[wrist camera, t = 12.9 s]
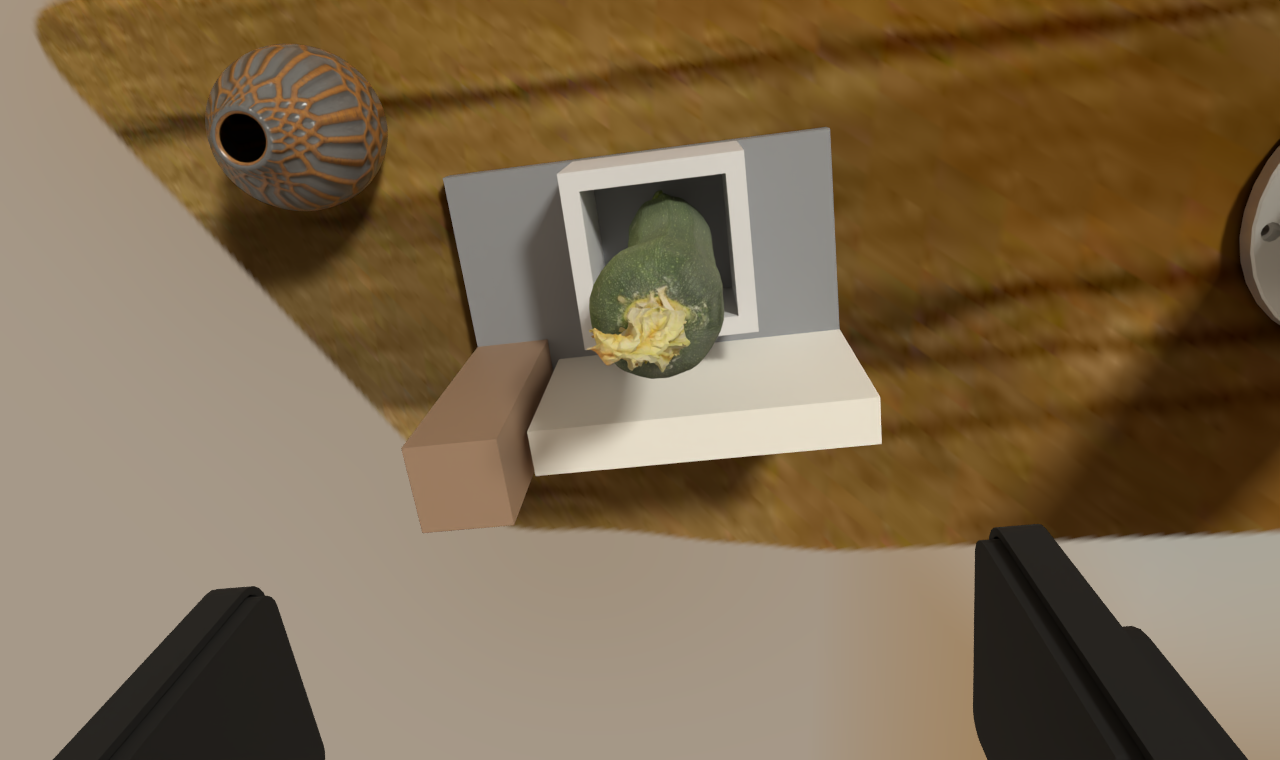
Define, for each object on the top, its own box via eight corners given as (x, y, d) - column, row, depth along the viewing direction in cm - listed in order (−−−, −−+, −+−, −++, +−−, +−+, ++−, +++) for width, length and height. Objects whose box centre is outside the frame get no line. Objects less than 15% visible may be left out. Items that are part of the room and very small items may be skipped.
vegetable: (730, 233, 39) (776, 386, 20) (665, 295, 40) (651, 493, 22) (664, 165, 38) (649, 259, 19) (600, 230, 39) (526, 380, 21)
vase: (238, 71, 39) (116, 71, 30) (372, 27, 38) (285, 14, 29) (298, 214, 41) (200, 250, 33) (427, 176, 40) (360, 203, 32)
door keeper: (826, 127, 38) (893, 152, 26) (837, 370, 42) (900, 491, 30) (448, 175, 40) (344, 221, 28) (495, 405, 44) (422, 533, 32)
